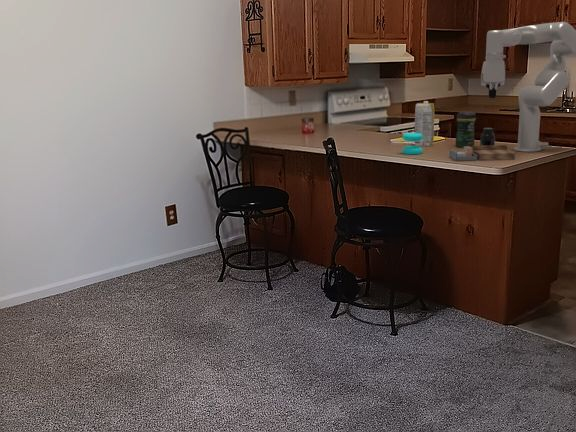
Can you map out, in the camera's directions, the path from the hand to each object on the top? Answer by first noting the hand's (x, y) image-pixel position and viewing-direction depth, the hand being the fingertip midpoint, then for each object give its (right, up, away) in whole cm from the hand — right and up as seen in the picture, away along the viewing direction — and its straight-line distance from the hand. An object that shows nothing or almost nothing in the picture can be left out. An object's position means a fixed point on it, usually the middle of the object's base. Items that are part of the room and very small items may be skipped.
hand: (492, 98), depth 277 cm
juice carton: (-22, -17, +45) cm, 53 cm away
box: (-14, -29, -1) cm, 32 cm away
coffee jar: (-2, -19, +35) cm, 40 cm away
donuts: (-34, -24, +20) cm, 46 cm away
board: (0, -28, -2) cm, 29 cm away
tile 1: (-16, -26, -2) cm, 31 cm away
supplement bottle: (+2, -25, +14) cm, 28 cm away
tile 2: (-11, -26, -2) cm, 28 cm away
